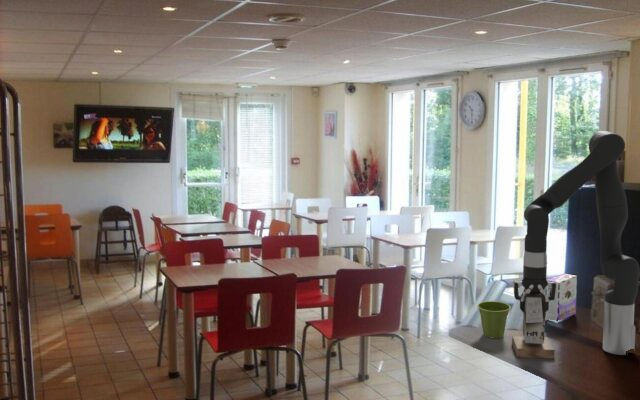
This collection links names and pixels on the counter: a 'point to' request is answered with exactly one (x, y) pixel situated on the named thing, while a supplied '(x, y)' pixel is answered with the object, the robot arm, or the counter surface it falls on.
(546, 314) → the candy box
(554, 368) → the counter surface
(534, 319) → the coffee box
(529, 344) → the light brown flat block
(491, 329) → the plant pot
